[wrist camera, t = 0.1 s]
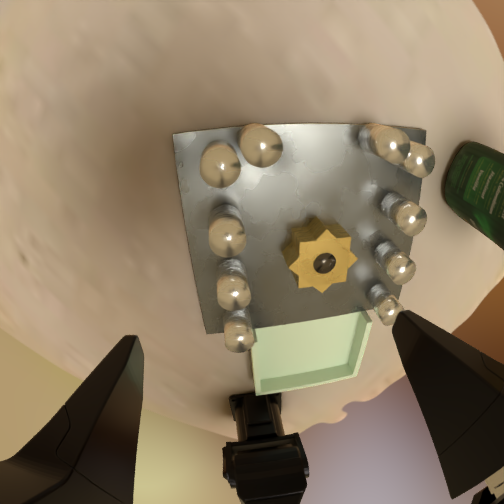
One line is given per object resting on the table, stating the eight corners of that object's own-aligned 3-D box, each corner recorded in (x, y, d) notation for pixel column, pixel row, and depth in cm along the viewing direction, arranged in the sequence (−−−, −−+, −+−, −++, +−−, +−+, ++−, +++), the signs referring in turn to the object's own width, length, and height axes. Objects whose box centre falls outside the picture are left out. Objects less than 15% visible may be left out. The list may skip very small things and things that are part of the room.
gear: (343, 272, 26) (354, 288, 24) (281, 281, 25) (288, 298, 23) (349, 213, 23) (362, 226, 21) (280, 219, 22) (288, 233, 20)
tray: (349, 361, 33) (356, 376, 31) (253, 379, 33) (256, 395, 30) (363, 306, 29) (372, 321, 27) (248, 325, 28) (251, 343, 26)
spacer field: (394, 300, 29) (412, 324, 26) (206, 330, 28) (207, 362, 24) (422, 126, 20) (453, 135, 17) (173, 131, 19) (163, 138, 15)
